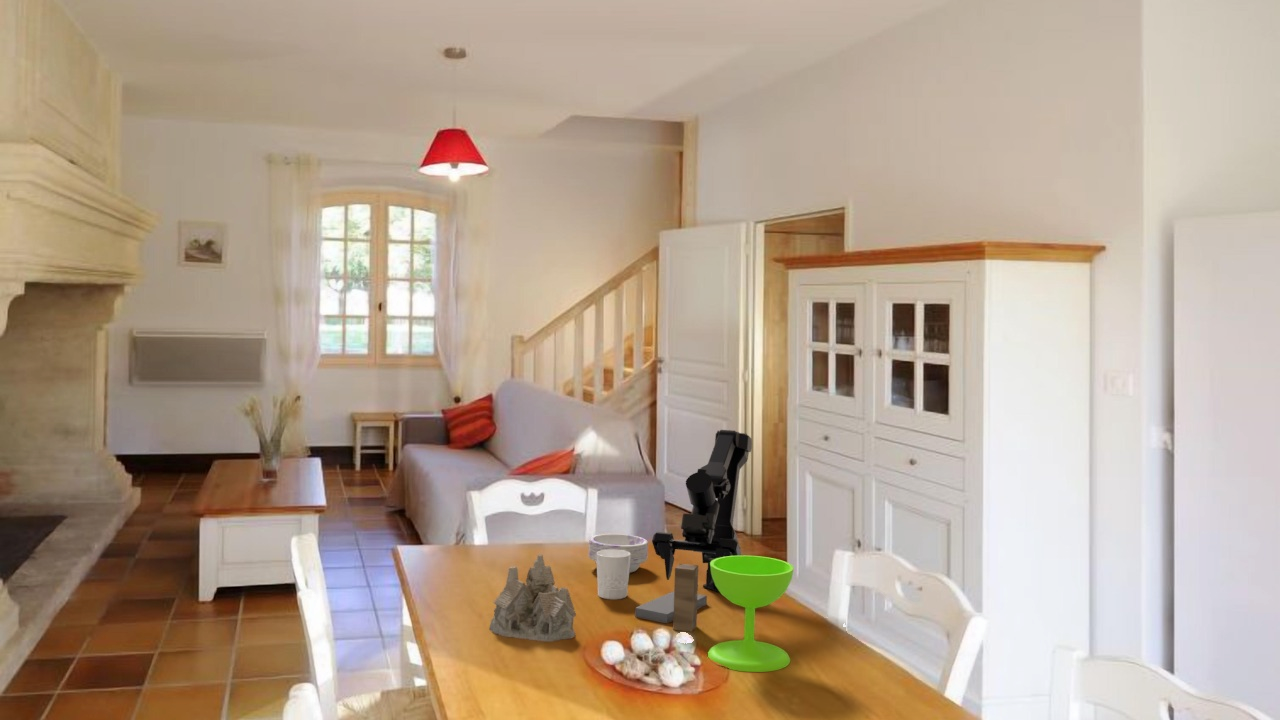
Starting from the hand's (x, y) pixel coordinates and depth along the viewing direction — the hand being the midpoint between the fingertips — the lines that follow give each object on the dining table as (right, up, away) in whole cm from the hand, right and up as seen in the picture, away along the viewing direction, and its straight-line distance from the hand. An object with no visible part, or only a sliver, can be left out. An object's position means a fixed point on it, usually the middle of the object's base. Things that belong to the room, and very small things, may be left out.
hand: (688, 581), depth 216 cm
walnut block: (-1, -10, -1) cm, 10 cm away
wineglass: (+11, -11, -19) cm, 24 cm away
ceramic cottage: (-32, -9, -6) cm, 34 cm away
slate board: (-3, -9, +11) cm, 15 cm away
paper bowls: (-16, -7, +47) cm, 50 cm away
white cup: (-17, -8, +22) cm, 29 cm away
